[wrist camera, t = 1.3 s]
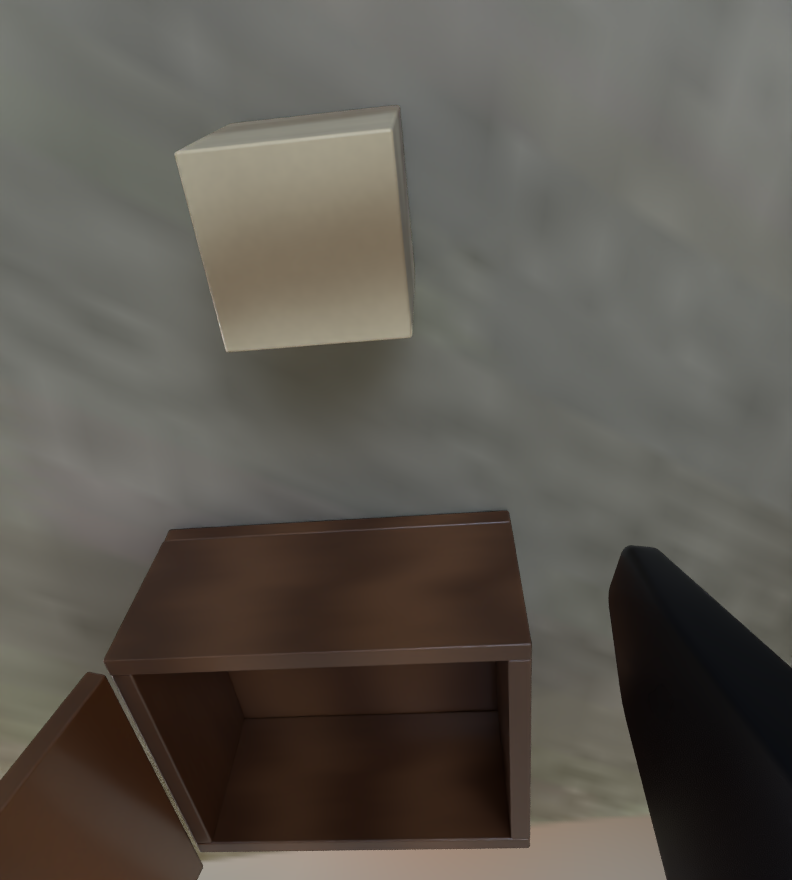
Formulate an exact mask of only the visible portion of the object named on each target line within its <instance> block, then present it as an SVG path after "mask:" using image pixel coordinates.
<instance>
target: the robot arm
mask: <svg viewBox="0 0 792 880" xmlns="http://www.w3.org/2000/svg"><path fill="white" fill-rule="evenodd" d="M608 598H609V610H610V618H611V625H612V632H613V640H614V647H615V655H616V662H617V670H618V677H619V685H620V691H621V698H622V704H623V708H624V713H625V717H626V722H627V725H628V729H629V733H630V737H631V741H632V745H633V749H634V753H635V757H636V761H637V765H638V769H639V773H640V777H641V780H642V784H643V788H644V792H645V796H646V800H647V804H648V808H649V812H650V816H651V820H652V824H653V828H654V831H655V835H656V839H657V843H658V847H659V851H660V855H661V859H662V862H663V866H664V870H665V875H666V879H667V880H792V668H791V667H790V666H789V665H788V664H787V663H785V662H784V661H783V660H782V659H781V658H780V657H779V656H778V655H776V654H775V653H774V652H773V651H772V650H771V649H770V648H769V647H767V646H766V645H765V644H764V643H763V642H762V641H761V640H760V639H758V638H757V637H756V636H755V635H754V634H753V633H752V632H751V631H749V630H748V629H747V628H746V627H745V626H744V625H743V624H742V623H740V622H739V621H738V620H737V619H736V618H735V617H734V616H733V615H731V614H730V613H729V612H728V611H727V610H726V609H725V608H723V607H722V606H721V605H720V604H719V603H718V602H717V601H716V600H714V599H713V598H712V597H711V596H710V595H709V594H708V593H707V592H705V591H704V590H703V589H702V588H701V587H700V586H699V585H698V584H696V583H695V582H694V581H693V580H692V579H691V578H690V577H689V576H687V575H686V574H685V573H684V572H683V571H682V570H681V569H680V568H678V567H677V566H676V565H675V564H674V563H673V562H672V561H671V560H669V559H668V558H667V557H666V556H665V555H664V554H663V553H662V552H660V551H659V550H658V549H656V548H653V547H644V546H633V545H630V546H627V547H625V548H624V550H623V551H622V553H621V556H620V559H619V562H618V564H617V567H616V570H615V573H614V576H613V579H612V582H611V585H610V589H609V597H608Z"/></svg>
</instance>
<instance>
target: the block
mask: <svg viewBox="0 0 792 880" xmlns="http://www.w3.org/2000/svg"><path fill="white" fill-rule="evenodd" d="M175 159H176V163H177V166H178V170H179V174H180V178H181V182H182V186H183V189H184V193H185V197H186V201H187V205H188V208H189V212H190V216H191V220H192V224H193V228H194V231H195V235H196V239H197V243H198V247H199V250H200V254H201V258H202V262H203V266H204V270H205V273H206V277H207V281H208V285H209V289H210V292H211V296H212V300H213V304H214V308H215V312H216V315H217V319H218V323H219V327H220V331H221V335H222V338H223V342H224V346H225V350H226V352H240V351H252V350H264V349H277V348H289V347H302V346H314V345H326V344H339V343H351V342H364V341H376V340H389V339H401V338H410V337H412V335H413V312H414V288H415V268H414V257H413V246H412V235H411V224H410V212H409V201H408V190H407V179H406V168H405V157H404V145H403V134H402V123H401V112H400V107H399V106H398V105H392V106H383V107H374V108H365V109H356V110H347V111H338V112H329V113H320V114H311V115H302V116H293V117H284V118H275V119H266V120H257V121H248V122H240V123H231V124H229V125H227V126H225V127H223V128H221V129H219V130H217V131H215V132H213V133H211V134H209V135H207V136H205V137H203V138H201V139H199V140H197V141H195V142H193V143H192V144H190V145H188V146H186V147H184V148H182V149H180V150H178V151H176V152H175Z"/></svg>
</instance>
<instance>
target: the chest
mask: <svg viewBox="0 0 792 880" xmlns="http://www.w3.org/2000/svg"><path fill="white" fill-rule="evenodd" d="M531 658H532V642H531V637H530V631H529V625H528V619H527V613H526V607H525V602H524V596H523V590H522V584H521V578H520V572H519V567H518V561H517V555H516V549H515V543H514V537H513V531H512V526H511V520H510V515H509V512H508V511H490V512H472V513H455V514H437V515H420V516H402V517H385V518H367V519H349V520H332V521H314V522H297V523H279V524H262V525H244V526H227V527H209V528H191V529H174V530H170V531H169V532H168V534H167V536H166V538H165V541H164V542H163V543H162V545H161V547H160V549H159V551H158V553H157V555H156V557H155V559H154V561H153V563H152V565H151V567H150V569H149V571H148V573H147V575H146V577H145V579H144V581H143V583H142V585H141V587H140V589H139V591H138V593H137V595H136V597H135V599H134V601H133V603H132V605H131V607H130V609H129V611H128V612H127V614H126V616H125V618H124V620H123V622H122V624H121V626H120V628H119V630H118V632H117V634H116V636H115V638H114V640H113V642H112V644H111V646H110V648H109V650H108V652H107V654H106V656H105V658H104V660H103V662H104V664H105V666H106V668H107V670H108V672H109V674H110V675H112V679H113V681H114V683H115V685H116V687H117V689H118V691H119V693H120V695H121V697H122V699H123V701H124V702H125V704H126V706H127V708H128V710H129V712H130V714H131V716H132V718H133V720H134V722H135V724H136V726H137V728H138V730H139V732H140V734H141V736H142V738H143V740H144V742H145V744H146V746H147V748H148V750H149V752H150V754H151V756H152V758H153V760H154V762H155V764H156V766H157V768H158V770H159V772H160V773H161V775H162V777H163V779H164V781H165V783H166V785H167V787H168V789H169V791H170V793H171V795H172V797H173V799H174V801H175V803H176V805H177V807H178V809H179V811H180V813H181V815H182V817H183V819H184V821H185V823H186V825H187V827H188V829H189V831H190V833H191V835H192V837H193V839H194V841H195V842H196V844H197V846H198V848H199V850H200V852H250V851H328V850H402V849H403V850H406V849H481V848H529V846H530V784H531V675H532V659H531Z"/></svg>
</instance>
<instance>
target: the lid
mask: <svg viewBox="0 0 792 880" xmlns="http://www.w3.org/2000/svg"><path fill="white" fill-rule="evenodd" d="M202 869H203V865H202V863H201V861H200V859H199V857H198V855H197V853H196V851H195V849H194V847H193V845H192V843H191V841H190V839H189V837H188V835H187V833H186V831H185V830H184V828H183V826H182V824H181V822H180V820H179V818H178V816H177V814H176V812H175V810H174V808H173V806H172V804H171V802H170V800H169V798H168V796H167V795H166V793H165V791H164V789H163V787H162V785H161V783H160V781H159V779H158V777H157V775H156V773H155V771H154V769H153V767H152V765H151V763H150V761H149V759H148V758H147V756H146V754H145V752H144V750H143V748H142V746H141V744H140V742H139V740H138V738H137V736H136V734H135V732H134V730H133V728H132V726H131V724H130V722H129V721H128V719H127V717H126V715H125V713H124V711H123V709H122V707H121V705H120V703H119V701H118V699H117V697H116V695H115V693H114V691H113V689H112V687H111V686H110V684H109V682H108V680H107V678H106V676H105V675H102V674H97V673H92V672H87V673H86V674H85V675H84V676H83V678H82V679H81V680H80V681H79V683H78V684H77V685H76V686H75V688H74V689H73V690H72V691H71V693H70V694H69V695H68V696H67V698H66V699H65V700H64V701H63V703H62V704H61V705H60V706H59V708H58V709H57V710H56V711H55V713H54V714H53V715H52V716H51V718H50V719H49V720H48V721H47V723H46V724H45V725H44V726H43V728H42V729H41V730H40V731H39V733H38V734H37V735H36V736H35V738H34V739H33V740H32V741H31V743H30V744H29V745H28V746H27V748H26V749H25V750H24V751H23V753H22V754H21V755H20V756H19V758H18V759H17V760H16V761H15V763H14V764H13V765H12V766H11V768H10V769H9V770H8V771H7V773H6V774H5V775H4V776H3V778H2V779H1V780H0V880H197V879H198V877H199V875H200V873H201V871H202Z"/></svg>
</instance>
